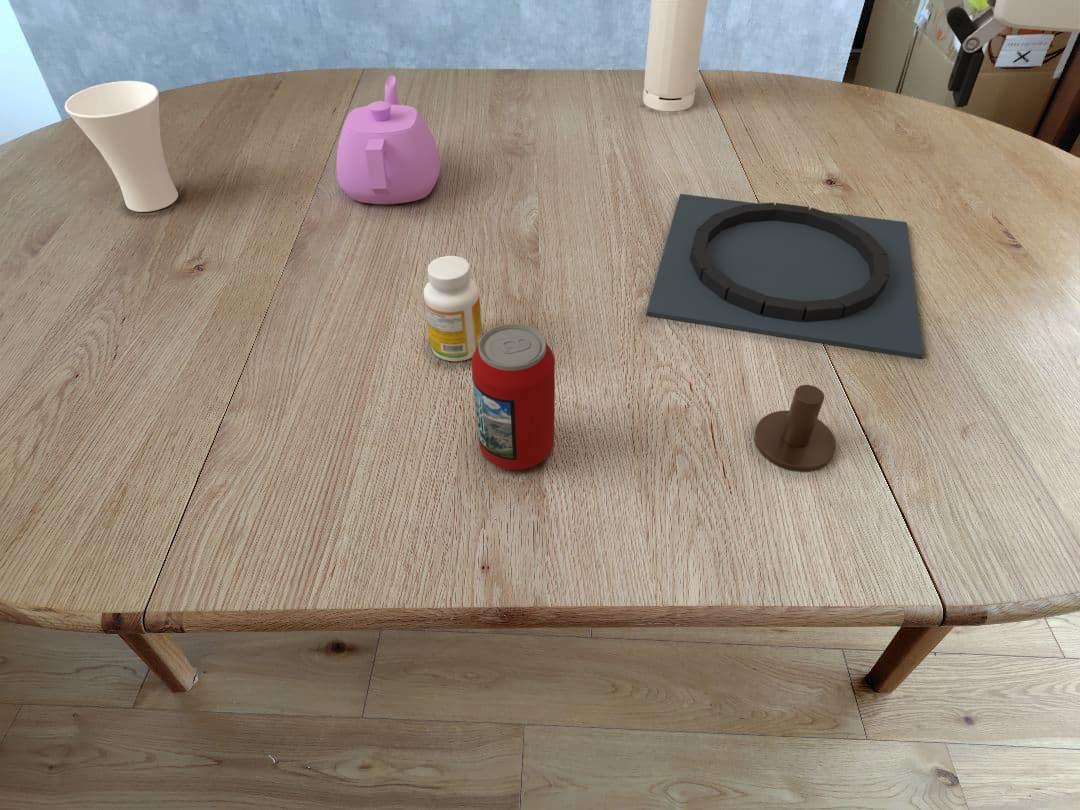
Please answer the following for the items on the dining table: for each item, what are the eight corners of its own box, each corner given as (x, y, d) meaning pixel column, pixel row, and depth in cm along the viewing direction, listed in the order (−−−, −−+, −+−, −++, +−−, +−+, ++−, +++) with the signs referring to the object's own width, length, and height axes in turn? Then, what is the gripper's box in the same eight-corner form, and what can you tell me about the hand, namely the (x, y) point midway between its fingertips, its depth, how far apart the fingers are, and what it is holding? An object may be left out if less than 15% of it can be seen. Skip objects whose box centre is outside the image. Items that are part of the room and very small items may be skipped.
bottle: (669, 116, 118) (694, -97, 99) (631, 99, 123) (648, -108, 103) (704, 101, 122) (734, -107, 102) (666, 86, 126) (688, -116, 107)
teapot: (447, 149, 111) (439, 70, 103) (436, 221, 97) (426, 137, 89) (354, 150, 111) (340, 72, 103) (329, 223, 97) (310, 138, 89)
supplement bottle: (463, 323, 82) (455, 244, 75) (493, 347, 79) (488, 268, 72) (420, 343, 79) (408, 264, 73) (450, 370, 76) (440, 290, 70)
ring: (880, 227, 94) (884, 215, 93) (889, 335, 79) (894, 323, 78) (702, 204, 98) (704, 193, 97) (679, 303, 83) (681, 291, 82)
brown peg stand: (834, 422, 71) (852, 374, 67) (834, 478, 66) (853, 430, 62) (757, 409, 72) (770, 360, 68) (751, 463, 67) (765, 414, 63)
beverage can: (469, 431, 70) (459, 329, 62) (538, 412, 72) (537, 310, 64) (492, 484, 66) (484, 381, 57) (565, 463, 68) (567, 360, 59)
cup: (146, 175, 106) (107, 76, 96) (210, 187, 103) (176, 86, 94) (91, 212, 99) (43, 109, 89) (158, 226, 96) (116, 122, 87)
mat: (905, 226, 95) (906, 221, 95) (922, 359, 77) (924, 354, 77) (679, 197, 100) (680, 193, 100) (646, 315, 83) (646, 311, 82)
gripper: (1279, -175, 48) (1138, 98, 60) (981, -179, 52) (904, 79, 64) (1332, -158, 43) (1167, 138, 55) (997, -163, 47) (909, 115, 58)
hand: (1025, 106), depth 59 cm, fingers open, 9 cm apart
